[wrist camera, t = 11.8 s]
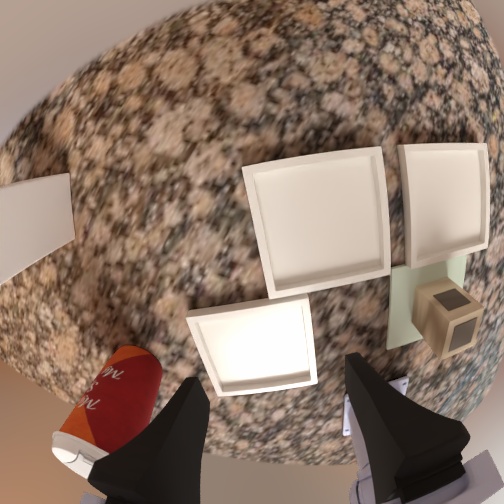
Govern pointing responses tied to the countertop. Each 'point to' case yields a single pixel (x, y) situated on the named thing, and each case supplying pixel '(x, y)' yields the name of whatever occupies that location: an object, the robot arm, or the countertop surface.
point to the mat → (404, 291)
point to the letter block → (446, 316)
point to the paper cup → (110, 410)
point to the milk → (33, 221)
